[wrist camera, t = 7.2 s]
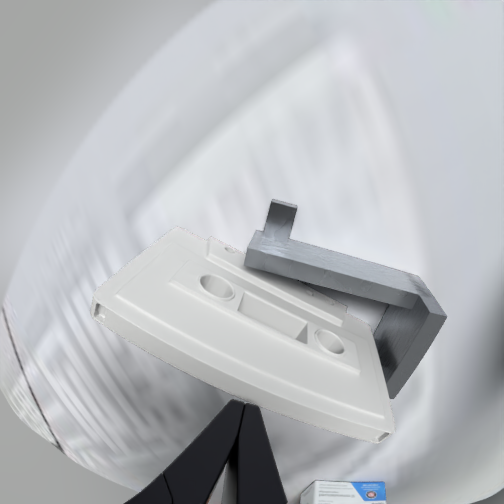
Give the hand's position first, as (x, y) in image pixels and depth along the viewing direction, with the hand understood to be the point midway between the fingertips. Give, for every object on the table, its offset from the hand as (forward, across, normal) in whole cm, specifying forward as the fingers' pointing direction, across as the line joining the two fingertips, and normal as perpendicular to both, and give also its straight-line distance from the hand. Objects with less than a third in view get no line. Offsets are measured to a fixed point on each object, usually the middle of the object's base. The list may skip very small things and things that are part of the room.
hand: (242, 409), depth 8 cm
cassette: (+9, 0, 0) cm, 9 cm away
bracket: (+8, -3, 0) cm, 9 cm away
